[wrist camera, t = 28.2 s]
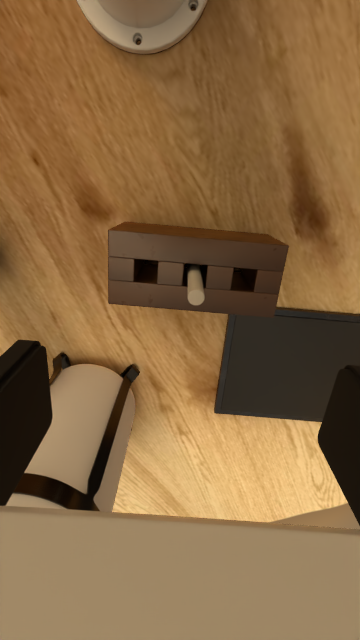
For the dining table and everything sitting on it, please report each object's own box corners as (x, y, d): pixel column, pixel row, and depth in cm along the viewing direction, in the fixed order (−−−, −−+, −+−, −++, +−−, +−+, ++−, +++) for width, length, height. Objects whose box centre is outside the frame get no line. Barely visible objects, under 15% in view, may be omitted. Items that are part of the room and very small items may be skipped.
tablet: (213, 409, 45) (214, 414, 44) (230, 303, 39) (231, 305, 38) (367, 422, 45) (371, 427, 44) (407, 318, 39) (412, 321, 38)
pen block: (124, 221, 36) (108, 229, 28) (268, 234, 36) (288, 245, 29) (123, 282, 38) (108, 303, 31) (257, 293, 39) (273, 318, 31)
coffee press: (102, 318, 40) (-88, 602, 12) (169, 408, 45) (139, 756, 17) (1, 377, 44) (-322, 699, 16) (73, 455, 49) (-79, 804, 21)
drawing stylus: (187, 254, 37) (187, 289, 24) (198, 254, 37) (204, 289, 24) (187, 265, 38) (187, 305, 25) (198, 265, 37) (204, 305, 24)
